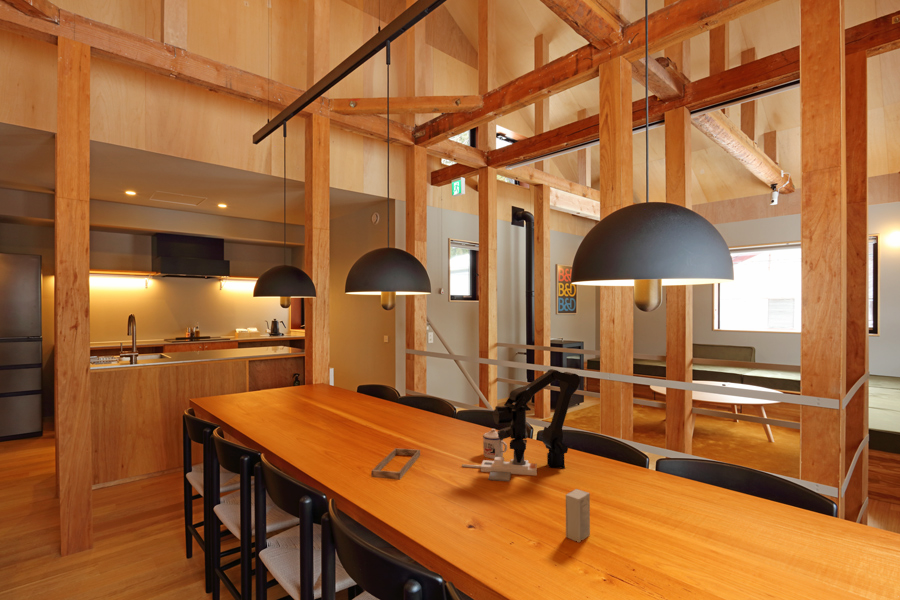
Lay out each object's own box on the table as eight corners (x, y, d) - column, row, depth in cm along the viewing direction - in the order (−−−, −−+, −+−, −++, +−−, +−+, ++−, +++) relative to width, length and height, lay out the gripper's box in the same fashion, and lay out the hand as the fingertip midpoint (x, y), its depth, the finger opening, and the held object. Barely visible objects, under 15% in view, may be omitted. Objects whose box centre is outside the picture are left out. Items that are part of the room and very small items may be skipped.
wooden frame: (420, 455, 196) (420, 449, 196) (400, 479, 168) (400, 472, 168) (395, 453, 198) (395, 448, 198) (371, 477, 170) (371, 470, 170)
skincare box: (577, 530, 129) (576, 488, 129) (590, 535, 126) (590, 492, 126) (565, 537, 125) (564, 494, 125) (578, 543, 121) (578, 499, 122)
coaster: (510, 473, 174) (510, 472, 174) (509, 481, 166) (509, 479, 166) (490, 472, 175) (490, 470, 175) (488, 479, 168) (488, 478, 168)
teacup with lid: (478, 455, 196) (478, 429, 196) (491, 451, 202) (491, 425, 203) (500, 462, 187) (500, 434, 188) (512, 456, 194) (512, 430, 194)
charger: (524, 464, 179) (524, 449, 179) (523, 467, 175) (523, 452, 175) (514, 463, 179) (514, 448, 180) (513, 467, 176) (513, 451, 176)
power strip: (536, 468, 179) (536, 457, 179) (536, 475, 172) (536, 464, 172) (463, 463, 186) (463, 453, 186) (460, 469, 178) (460, 459, 178)
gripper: (500, 415, 188) (501, 452, 188) (496, 426, 170) (496, 467, 170) (527, 416, 186) (527, 453, 186) (525, 428, 168) (526, 469, 167)
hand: (519, 460), depth 177 cm, fingers closed on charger, 4 cm apart
